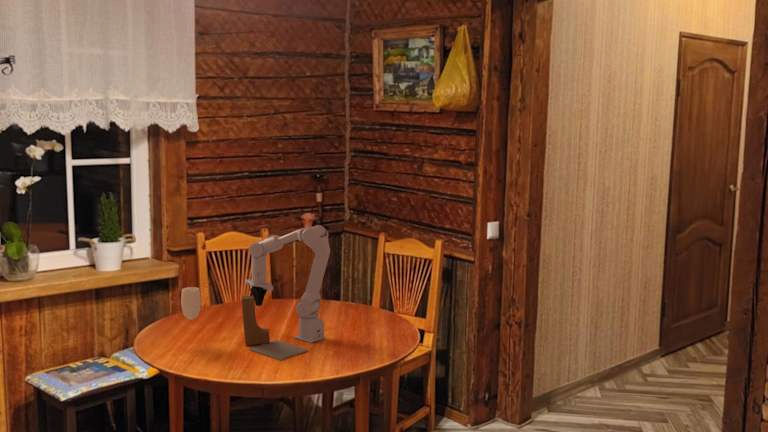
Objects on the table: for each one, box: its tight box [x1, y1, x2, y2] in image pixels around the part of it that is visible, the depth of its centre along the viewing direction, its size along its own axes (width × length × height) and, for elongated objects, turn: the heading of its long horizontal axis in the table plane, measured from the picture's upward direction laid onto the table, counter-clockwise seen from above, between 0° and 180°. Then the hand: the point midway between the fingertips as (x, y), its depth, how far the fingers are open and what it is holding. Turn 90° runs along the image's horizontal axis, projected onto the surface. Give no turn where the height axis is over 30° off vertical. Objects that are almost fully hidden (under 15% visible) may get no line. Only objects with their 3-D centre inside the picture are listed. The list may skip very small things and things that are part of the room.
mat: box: [248, 339, 309, 362], centre depth 281 cm, size 17×14×1 cm
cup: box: [180, 286, 202, 321], centre depth 286 cm, size 7×7×21 cm
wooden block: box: [241, 295, 271, 346], centre depth 286 cm, size 9×4×18 cm, turn 99°
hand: (259, 305), depth 302 cm, fingers closed
